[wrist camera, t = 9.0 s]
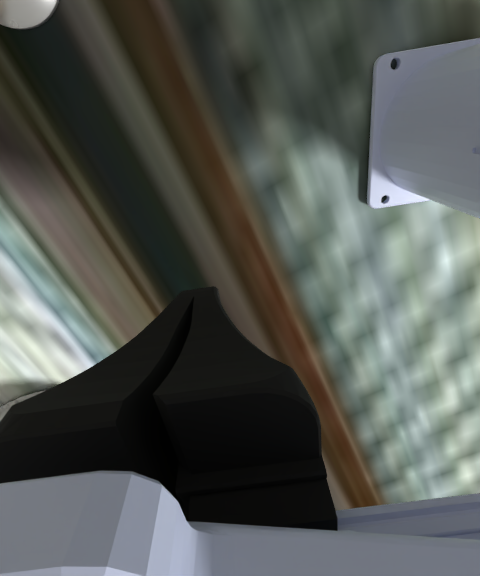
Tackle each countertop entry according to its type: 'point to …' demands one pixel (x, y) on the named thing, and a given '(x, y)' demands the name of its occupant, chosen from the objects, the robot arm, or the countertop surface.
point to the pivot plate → (26, 13)
